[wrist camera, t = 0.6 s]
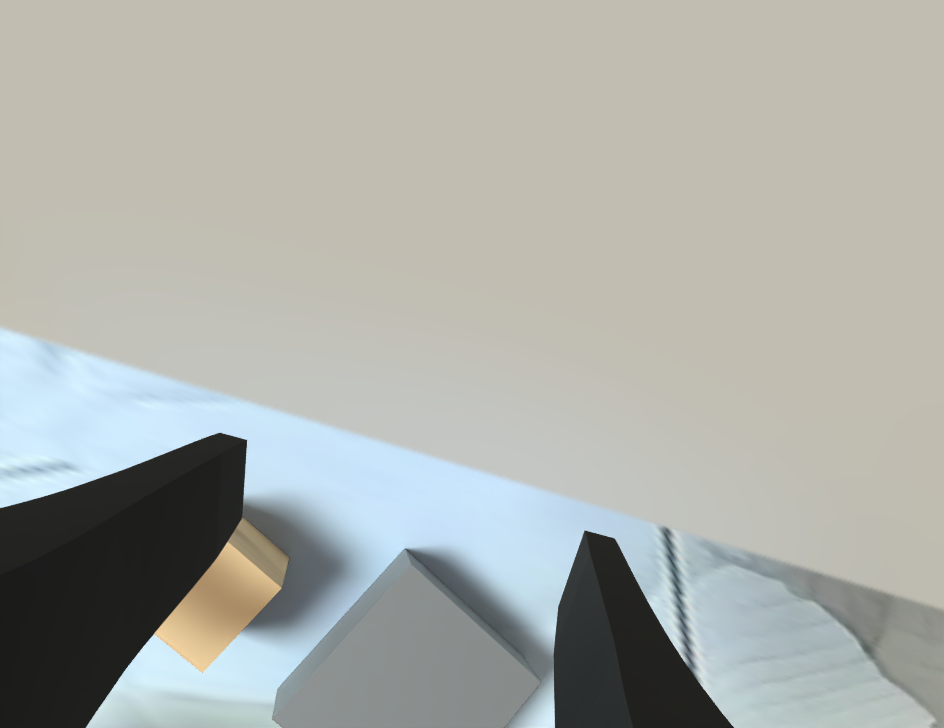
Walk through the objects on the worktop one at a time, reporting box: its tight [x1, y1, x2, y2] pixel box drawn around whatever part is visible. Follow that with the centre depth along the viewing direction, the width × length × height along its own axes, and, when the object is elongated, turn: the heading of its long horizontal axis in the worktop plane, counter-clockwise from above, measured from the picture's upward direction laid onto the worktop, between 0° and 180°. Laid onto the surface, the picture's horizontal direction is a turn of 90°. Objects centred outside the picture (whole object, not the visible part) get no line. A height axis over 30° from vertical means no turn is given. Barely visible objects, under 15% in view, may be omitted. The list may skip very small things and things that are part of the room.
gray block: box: [272, 549, 541, 728], centre depth 33 cm, size 10×10×3 cm
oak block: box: [154, 517, 289, 673], centre depth 30 cm, size 5×5×5 cm
